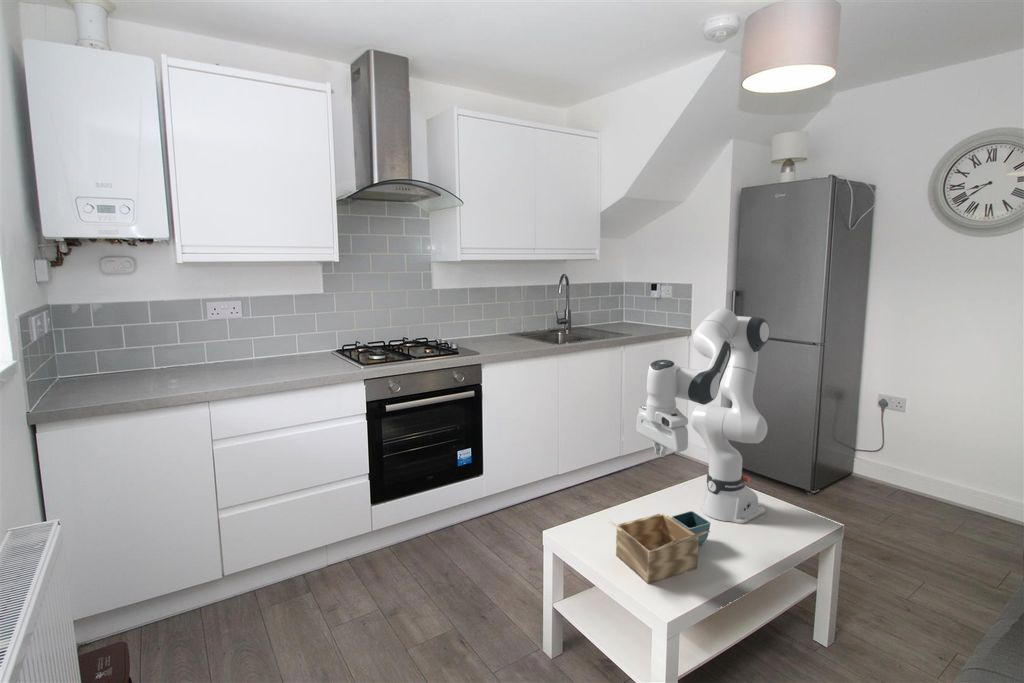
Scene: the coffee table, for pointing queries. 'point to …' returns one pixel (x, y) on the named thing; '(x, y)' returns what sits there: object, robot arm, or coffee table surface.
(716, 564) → the coffee table surface
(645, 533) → the open wooden box
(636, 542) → the flap front
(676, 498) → the coffee table surface
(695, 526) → the flower pot
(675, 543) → the flap left
